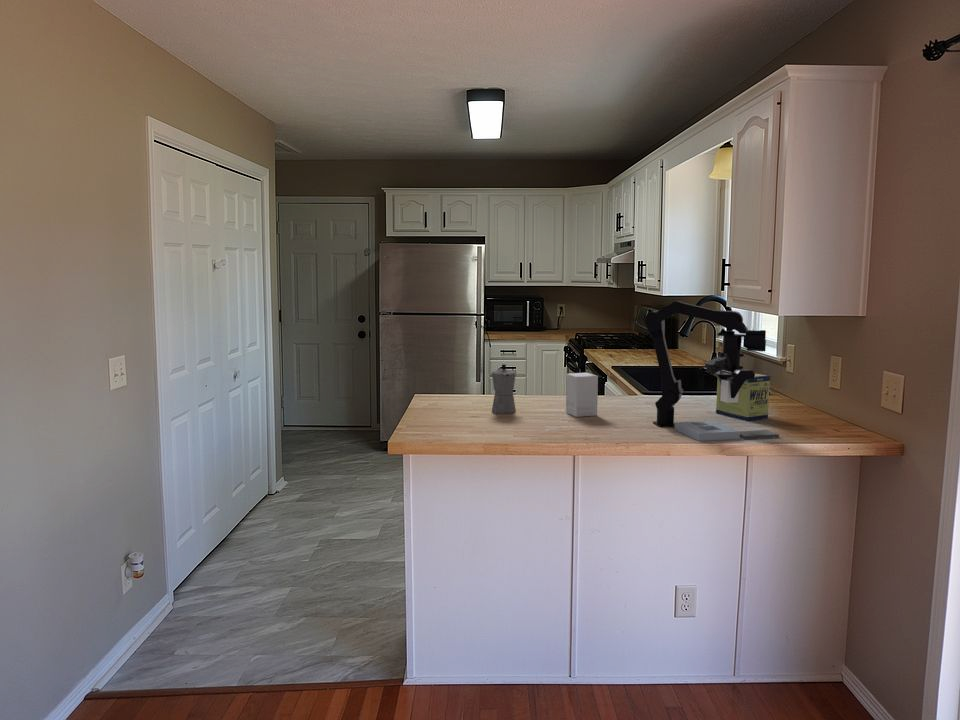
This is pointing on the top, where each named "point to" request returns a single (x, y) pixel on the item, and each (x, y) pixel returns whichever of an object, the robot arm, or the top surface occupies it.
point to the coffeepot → (503, 391)
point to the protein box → (747, 400)
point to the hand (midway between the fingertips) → (729, 396)
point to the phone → (757, 434)
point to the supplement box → (581, 394)
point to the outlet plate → (707, 430)
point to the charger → (727, 392)
